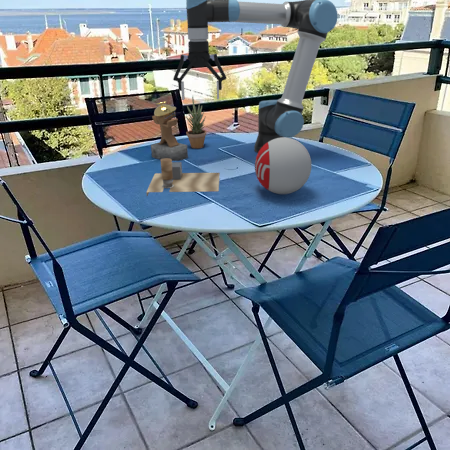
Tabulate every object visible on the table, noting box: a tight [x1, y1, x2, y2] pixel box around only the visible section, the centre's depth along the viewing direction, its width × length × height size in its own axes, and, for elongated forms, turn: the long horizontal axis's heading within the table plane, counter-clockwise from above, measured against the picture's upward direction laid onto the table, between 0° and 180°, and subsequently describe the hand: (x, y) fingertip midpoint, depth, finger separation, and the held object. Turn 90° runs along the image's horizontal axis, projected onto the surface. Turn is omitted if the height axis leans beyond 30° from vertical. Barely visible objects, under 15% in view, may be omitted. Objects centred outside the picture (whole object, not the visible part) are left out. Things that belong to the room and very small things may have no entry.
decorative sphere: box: [254, 137, 312, 195], centre depth 159 cm, size 20×20×20 cm
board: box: [145, 172, 221, 197], centre depth 171 cm, size 26×20×2 cm
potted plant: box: [185, 96, 207, 149], centre depth 212 cm, size 10×10×25 cm
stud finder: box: [172, 161, 183, 181], centre depth 175 cm, size 7×6×5 cm
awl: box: [160, 158, 173, 187], centre depth 165 cm, size 4×4×10 cm
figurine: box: [150, 101, 189, 162], centre depth 198 cm, size 14×11×25 cm
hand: (200, 99), depth 175 cm, fingers open, 13 cm apart
